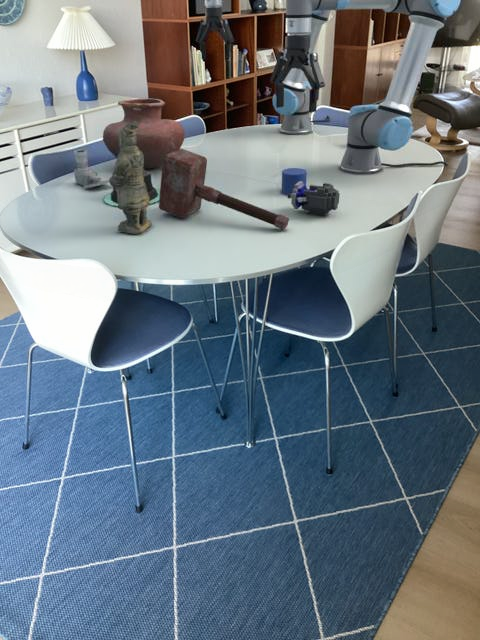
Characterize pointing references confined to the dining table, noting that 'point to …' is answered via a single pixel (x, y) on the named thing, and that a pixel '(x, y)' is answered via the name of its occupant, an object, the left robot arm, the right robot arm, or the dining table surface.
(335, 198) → the toy
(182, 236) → the dining table surface
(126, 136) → the statue
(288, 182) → the canister
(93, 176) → the grey boot
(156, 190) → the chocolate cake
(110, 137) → the clay pot
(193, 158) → the sledgehammer
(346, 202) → the dining table surface
